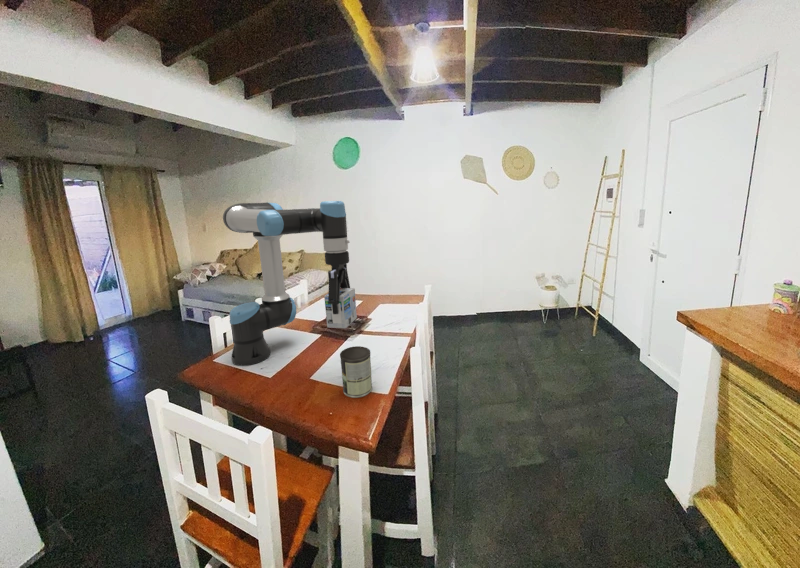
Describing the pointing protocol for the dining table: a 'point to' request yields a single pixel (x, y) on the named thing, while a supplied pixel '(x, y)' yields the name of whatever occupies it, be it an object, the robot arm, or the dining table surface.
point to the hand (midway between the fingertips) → (342, 316)
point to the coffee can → (356, 371)
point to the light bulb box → (342, 308)
